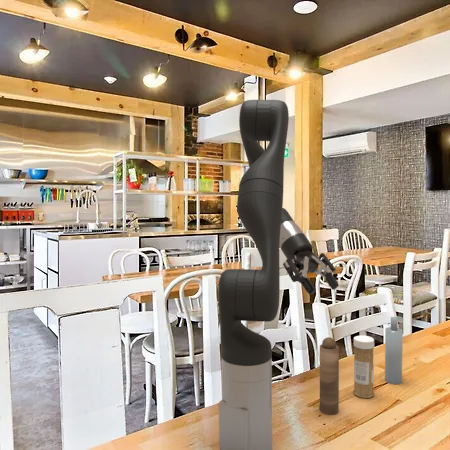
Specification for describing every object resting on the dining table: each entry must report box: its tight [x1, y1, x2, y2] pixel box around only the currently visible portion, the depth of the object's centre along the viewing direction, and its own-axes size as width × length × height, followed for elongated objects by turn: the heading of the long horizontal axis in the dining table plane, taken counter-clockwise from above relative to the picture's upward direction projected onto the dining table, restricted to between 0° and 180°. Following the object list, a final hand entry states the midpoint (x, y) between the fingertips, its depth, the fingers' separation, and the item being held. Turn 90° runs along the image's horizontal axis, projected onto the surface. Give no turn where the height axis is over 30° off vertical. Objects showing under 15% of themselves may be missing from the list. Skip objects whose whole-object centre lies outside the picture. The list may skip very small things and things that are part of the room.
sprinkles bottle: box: [353, 335, 375, 399], centre depth 99 cm, size 5×5×14 cm
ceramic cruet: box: [384, 316, 404, 385], centre depth 106 cm, size 4×4×16 cm
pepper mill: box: [319, 337, 340, 416], centre depth 92 cm, size 4×4×16 cm
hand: (324, 290), depth 108 cm, fingers open, 8 cm apart
